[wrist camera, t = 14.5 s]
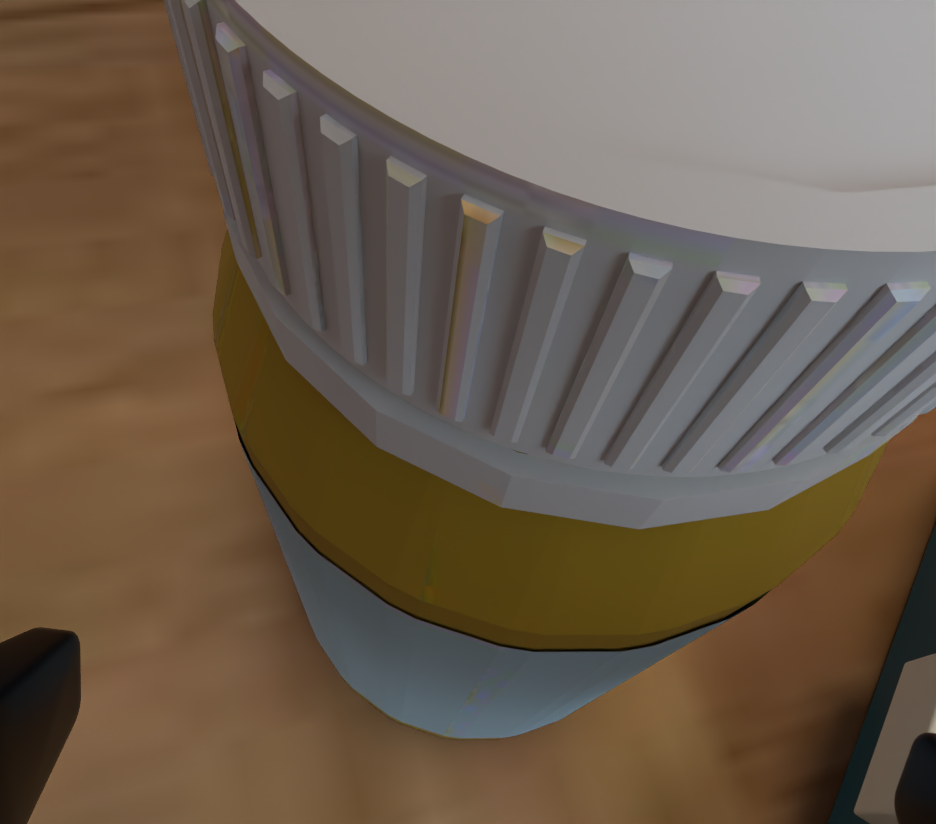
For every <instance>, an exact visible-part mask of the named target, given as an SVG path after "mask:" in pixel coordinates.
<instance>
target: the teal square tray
mask: <svg viewBox="0 0 936 824" xmlns="http://www.w3.org/2000/svg"><path fill="white" fill-rule="evenodd" d="M926 732H929V733H936V523H935V526H934V529H933V532H932V535H931V537H930V540H929V543H928V546H927V548H926V551H925V554H924V557H923V560H922V562H921V565H920V568H919V571H918V573H917V576H916V579H915V582H914V585H913V587H912V590H911V593H910V596H909V599H908V601H907V604H906V607H905V610H904V612H903V615H902V618H901V621H900V624H899V626H898V629H897V632H896V635H895V637H894V640H893V643H892V646H891V649H890V651H889V654H888V657H887V660H886V663H885V665H884V668H883V671H882V674H881V676H880V679H879V682H878V685H877V688H876V690H875V693H874V696H873V699H872V701H871V704H870V707H869V710H868V713H867V715H866V718H865V721H864V724H863V727H862V729H861V732H860V735H859V738H858V740H857V743H856V746H855V749H854V752H853V754H852V757H851V760H850V763H849V765H848V768H847V771H846V774H845V777H844V779H843V782H842V785H841V788H840V791H839V793H838V796H837V799H836V802H835V804H834V807H833V810H832V813H831V816H830V818H829V821H828V824H899V823H898V821H897V817H896V813H895V807H894V798H895V792H896V788H897V785H898V783H899V780H900V777H901V774H902V771H903V769H904V766H905V763H906V760H907V758H908V755H909V752H910V749H911V747H912V744H913V742H914V740H915V739H916V738H917V736H918V735H920V734H922V733H926Z"/></svg>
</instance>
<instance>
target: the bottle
mask: <svg viewBox="0 0 936 824" xmlns="http://www.w3.org/2000/svg"><path fill="white" fill-rule="evenodd" d="M164 2H165V6H166V10H167V13H168V17H169V21H170V25H171V28H172V32H173V36H174V39H175V43H176V47H177V50H178V54H179V58H180V61H181V65H182V69H183V73H184V76H185V80H186V84H187V87H188V91H189V95H190V98H191V102H192V106H193V109H194V113H195V117H196V120H197V124H198V128H199V132H200V135H201V139H202V143H203V146H204V150H205V154H206V157H207V161H208V165H209V168H210V172H211V175H212V176H213V177H214V178H215V180H216V184H217V188H218V191H219V195H220V199H221V203H222V205H223V213H224V217H225V220H226V224H227V228H228V229H227V232H226V236H225V239H224V243H223V246H222V251H221V259H220V266H219V273H218V280H217V287H216V294H215V301H214V309H213V330H214V342H215V346H216V350H217V354H218V358H219V362H220V366H221V370H222V374H223V378H224V382H225V386H226V390H227V394H228V398H229V402H230V406H231V410H232V414H233V416H234V420H235V424H236V428H237V432H238V436H239V440H240V443H241V445H242V448H243V451H244V453H245V456H246V458H247V461H248V464H249V466H250V469H251V471H252V474H253V477H254V479H255V482H256V484H257V487H258V490H259V492H260V495H261V497H262V500H263V503H264V505H265V508H266V510H267V513H268V516H269V518H270V521H271V523H272V526H273V529H274V531H275V534H276V536H277V539H278V541H279V544H280V547H281V549H282V552H283V554H284V557H285V560H286V562H287V565H288V567H289V570H290V573H291V575H292V578H293V580H294V583H295V586H296V588H297V591H298V593H299V596H300V599H301V601H302V604H303V606H304V609H305V612H306V614H307V617H308V619H309V622H310V625H311V627H312V629H313V631H314V634H315V636H316V638H317V640H318V642H319V643H320V645H321V646H322V648H323V649H324V651H325V652H326V654H327V655H328V657H329V658H330V660H331V661H332V663H333V664H334V666H335V668H336V669H337V671H338V672H339V674H340V675H341V677H342V678H343V680H344V681H345V682H346V683H347V684H348V685H349V686H350V687H351V688H352V689H353V690H354V691H355V692H356V693H357V694H359V695H360V696H361V697H363V698H364V699H365V700H366V701H368V702H369V703H370V704H372V705H373V706H374V707H376V708H377V709H378V710H379V711H381V712H382V713H383V714H385V715H386V716H387V717H389V718H391V719H393V720H395V721H397V722H399V723H400V724H403V725H406V726H409V727H412V728H415V729H418V730H421V731H424V732H427V733H430V734H433V735H436V736H439V737H443V738H449V739H455V740H471V739H502V738H507V737H513V736H516V735H520V734H523V733H526V732H528V731H531V730H534V729H536V728H539V727H542V726H545V725H547V724H550V723H553V722H555V721H558V720H560V719H562V718H564V717H565V716H567V715H569V714H571V713H572V712H574V711H576V710H577V709H579V708H581V707H582V706H584V705H586V704H587V703H589V702H591V701H593V700H594V699H596V698H598V697H599V696H601V695H603V694H604V693H606V692H608V691H609V690H611V689H613V688H614V687H616V686H618V685H619V684H621V683H623V682H624V681H626V680H628V679H630V678H631V677H633V676H635V675H636V674H638V673H640V672H641V671H643V670H645V669H646V668H648V667H650V666H651V665H653V664H655V663H656V662H658V661H660V660H661V659H663V658H665V657H667V656H668V655H670V654H672V653H673V652H675V651H677V650H678V649H680V648H682V647H683V646H685V645H687V644H688V643H690V642H692V641H693V640H695V639H697V638H698V637H700V636H702V635H704V634H705V633H707V632H709V631H710V630H712V629H714V628H715V627H717V626H719V625H720V624H722V623H724V622H725V621H727V620H729V619H730V618H732V617H734V616H735V615H737V614H739V613H741V612H742V611H744V610H746V609H747V608H749V607H751V606H752V605H754V604H755V603H756V602H757V601H759V600H760V599H761V598H762V597H763V596H764V595H766V594H767V593H768V592H769V591H770V590H771V589H773V588H774V587H776V586H778V585H779V584H780V583H781V582H783V581H784V580H785V579H786V578H787V577H788V576H789V575H791V574H792V573H793V572H794V571H795V570H796V569H798V568H799V567H800V566H801V565H802V564H803V563H804V562H806V561H807V560H808V559H809V558H810V557H811V556H813V555H814V554H815V553H816V552H817V551H818V550H819V549H821V548H822V547H823V546H824V545H825V544H826V543H828V542H829V541H830V540H831V539H832V538H833V537H834V536H836V535H837V534H838V532H839V531H840V530H841V528H842V527H843V526H844V525H845V523H846V522H847V521H848V519H849V518H850V517H851V516H852V514H853V513H854V511H855V509H856V507H857V505H858V503H859V501H860V499H861V497H862V495H863V493H864V491H865V489H866V487H867V485H868V482H869V480H870V478H871V476H872V474H873V472H874V470H875V468H876V466H877V464H878V462H879V460H880V458H881V456H882V454H883V452H884V450H885V448H886V445H887V442H888V441H889V440H890V439H891V438H892V437H894V436H895V435H896V434H898V433H899V432H900V431H902V430H903V429H904V428H906V427H907V426H908V425H910V424H911V423H912V422H913V421H914V420H915V419H916V418H917V416H918V415H919V414H926V413H928V412H929V411H931V410H932V409H934V408H935V407H936V0H164Z"/></svg>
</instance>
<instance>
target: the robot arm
mask: <svg viewBox="0 0 936 824" xmlns="http://www.w3.org/2000/svg"><path fill="white" fill-rule="evenodd" d="M80 701H81V673H80V642H79V639H78V636H77V635H76V634H75V633H74V632H72V631H67V630H58V629H50V628H41V627H39V628H34V629H31V630H29V631H26V632H24V633H22V634H19V635H17V636H15V637H13V638H10V639H8V640H6V641H4V642H1V643H0V824H27V822H28V820H29V818H30V816H31V814H32V812H33V810H34V808H35V806H36V803H37V801H38V799H39V797H40V795H41V793H42V791H43V789H44V787H45V784H46V782H47V780H48V778H49V776H50V774H51V772H52V770H53V768H54V766H55V763H56V761H57V759H58V757H59V755H60V753H61V751H62V749H63V747H64V744H65V742H66V740H67V738H68V736H69V734H70V732H71V730H72V728H73V725H74V723H75V721H76V718H77V715H78V712H79V708H80ZM894 807H895V813H896V817H897V821H898V823H899V824H936V733H929V732H926V733H922V734H920V735H918V736H917V738H916V739H915V740H914V742H913V744H912V747H911V749H910V752H909V755H908V758H907V760H906V763H905V766H904V769H903V771H902V774H901V777H900V780H899V783H898V785H897V788H896V792H895V798H894Z"/></svg>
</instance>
